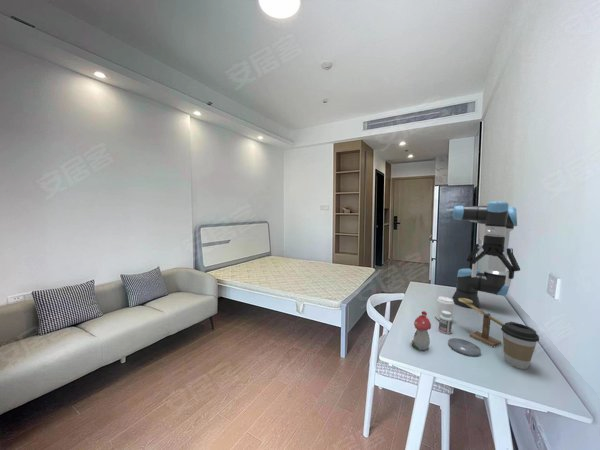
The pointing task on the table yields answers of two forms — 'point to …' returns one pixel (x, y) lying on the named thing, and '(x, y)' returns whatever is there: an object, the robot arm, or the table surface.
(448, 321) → the pill bottle
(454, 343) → the flat grey disc
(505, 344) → the coffee cup
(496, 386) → the table surface
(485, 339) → the balance
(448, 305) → the beverage can
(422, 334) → the decorative ornament
